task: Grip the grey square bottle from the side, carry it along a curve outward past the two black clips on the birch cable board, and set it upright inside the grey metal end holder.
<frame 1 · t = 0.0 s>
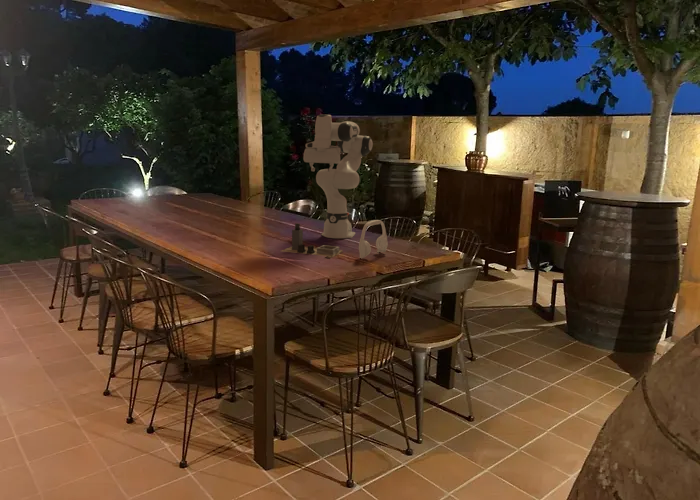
hand: (321, 171, 295), 39 cm above the table, tool pointing down, fingers open, 8 cm apart
grey square bottle: (297, 249, 282), point 1 cm above the table, touching cable board
cable board: (311, 252, 279), on the table
headset: (372, 256, 275), on the table
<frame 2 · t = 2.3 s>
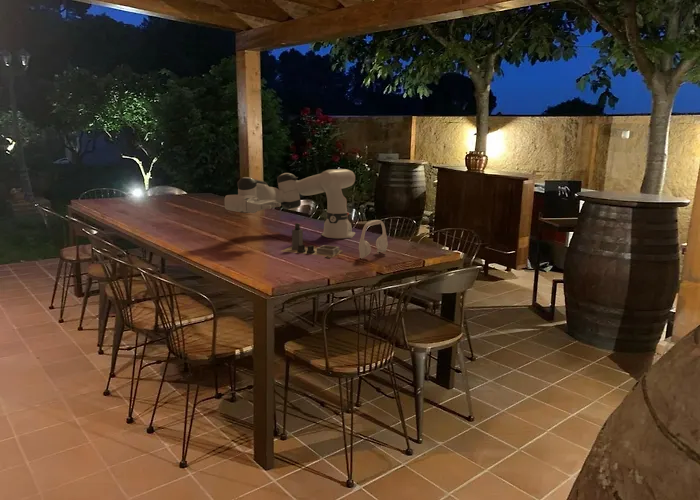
hand: (275, 206, 282), 22 cm above the table, tool horizontal, fingers open, 8 cm apart
nothing on the table moved.
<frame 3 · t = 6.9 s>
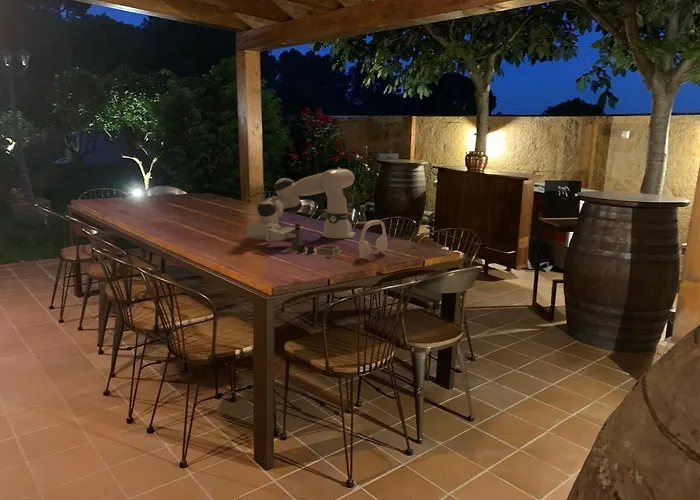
hand: (299, 234, 280), 9 cm above the table, tool horizontal, fingers closed on grey square bottle, 4 cm apart
grey square bottle: (297, 249, 282), point 1 cm above the table, touching cable board, gripper
everything else where it was.
when the fingers open (10 cm above the table, at t = 12.3 s): grey square bottle drops 1 cm, resting on cable board.
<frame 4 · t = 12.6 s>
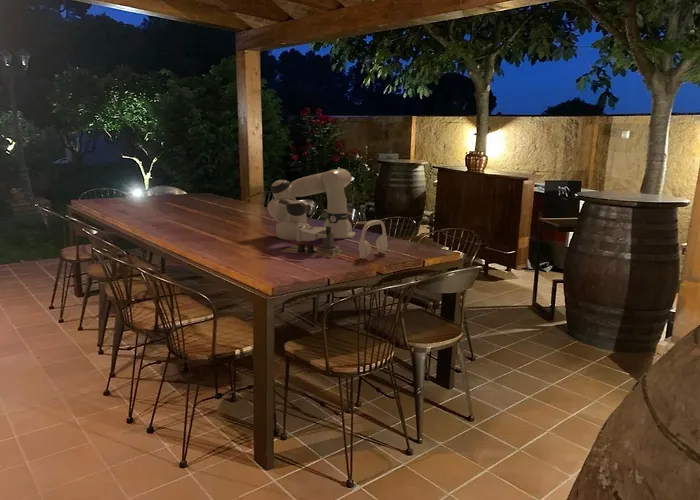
hand: (330, 234, 274), 10 cm above the table, tool horizontal, fingers open, 7 cm apart
grey square bottle: (328, 252, 276), point 1 cm above the table, touching cable board
everything else where it was.
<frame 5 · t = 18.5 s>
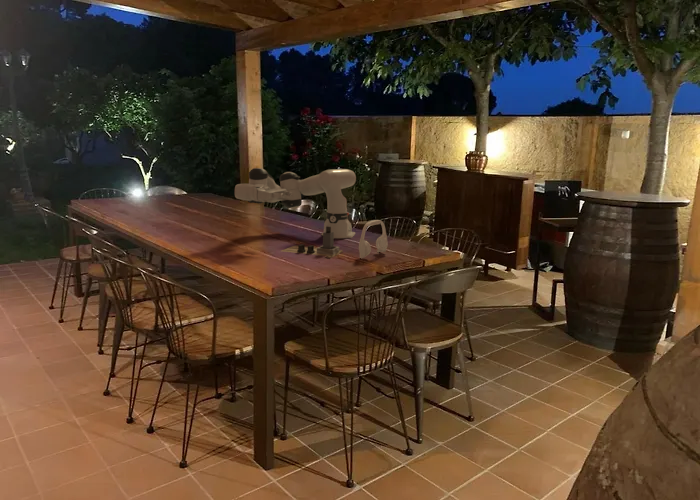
hand: (286, 194, 281), 28 cm above the table, tool horizontal, fingers open, 8 cm apart
nothing on the table moved.
at the end: grey square bottle 0.0 cm from the target spot, point 1.0 cm above the table; grey square bottle tilted 0°; the gripper is holding nothing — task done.
